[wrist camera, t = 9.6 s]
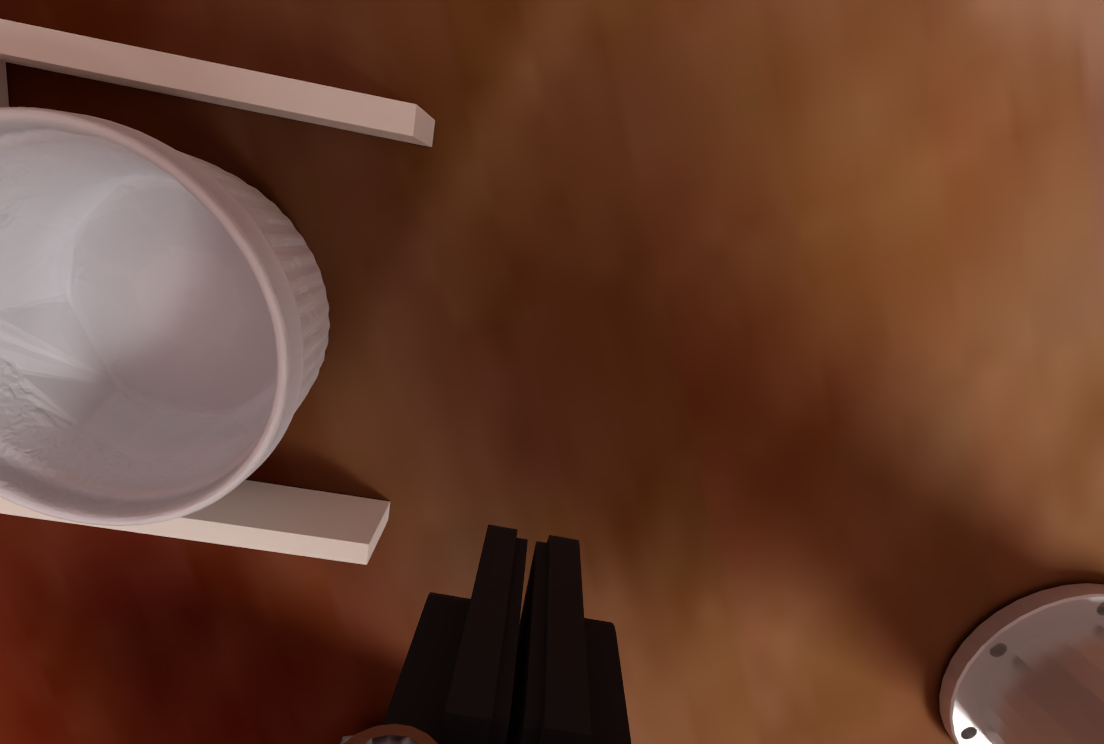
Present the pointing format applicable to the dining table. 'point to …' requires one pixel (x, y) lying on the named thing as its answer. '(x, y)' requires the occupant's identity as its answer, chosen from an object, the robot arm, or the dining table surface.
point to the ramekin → (142, 323)
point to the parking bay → (253, 506)
